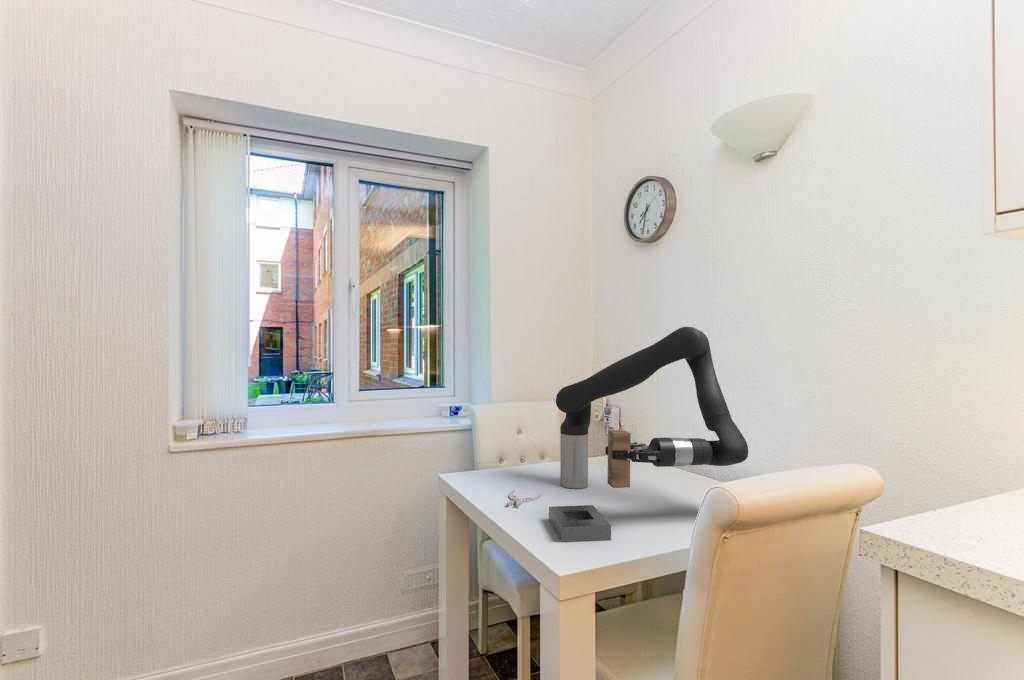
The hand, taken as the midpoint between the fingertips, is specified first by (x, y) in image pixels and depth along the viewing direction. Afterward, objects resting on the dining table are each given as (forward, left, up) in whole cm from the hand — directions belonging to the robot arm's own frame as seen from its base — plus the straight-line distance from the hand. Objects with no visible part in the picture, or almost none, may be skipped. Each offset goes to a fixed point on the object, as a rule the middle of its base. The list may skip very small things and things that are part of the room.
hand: (609, 452), depth 127 cm
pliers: (-22, -20, -19) cm, 35 cm away
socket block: (+4, -9, -18) cm, 21 cm away
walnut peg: (0, +3, -9) cm, 9 cm away
